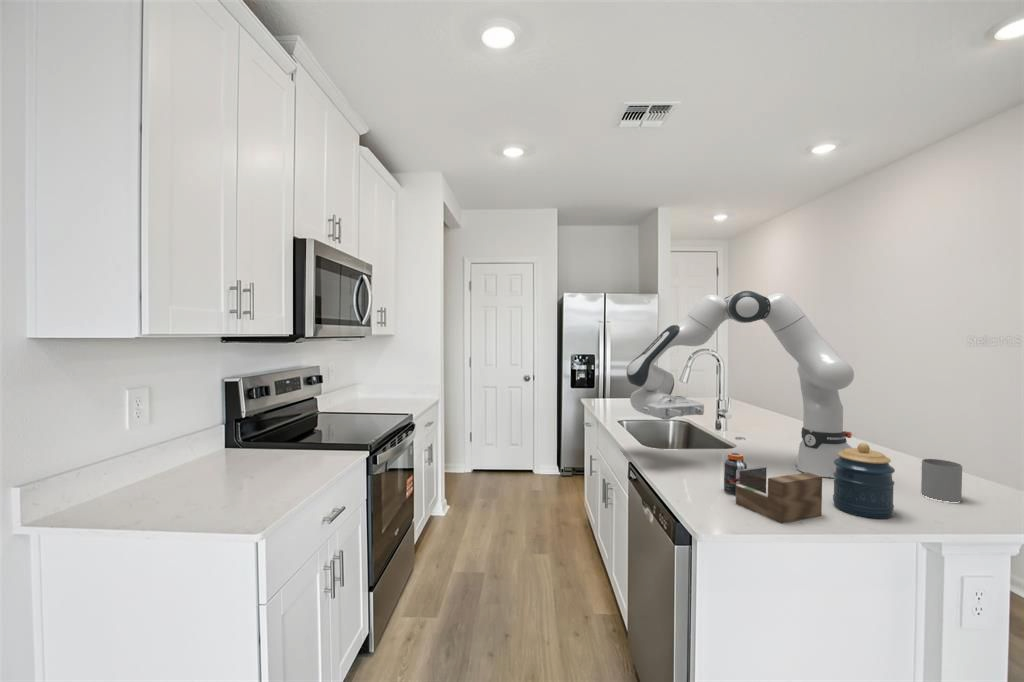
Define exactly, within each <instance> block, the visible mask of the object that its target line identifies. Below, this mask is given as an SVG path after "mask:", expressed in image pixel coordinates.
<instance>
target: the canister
mask: <svg viewBox="0 0 1024 682" xmlns="http://www.w3.org/2000/svg"><path fill="white" fill-rule="evenodd" d="M837 454H838V456H839V458H838V459H836V460H834V464H835V465H836V471H835V472H834V473H833V475H834V478H833V494H832V500H833V501H832V502H833V505H834V506H835V507H836V508H837V509H839V510H840V509H841V510H840V511H843V512H844V513H848V514H852V515H855V516H859V517H864V518H870V519H888V518H891V517H893V513H894V512H895V511H894V510H895V506H894V487H895V486H894V485H895V481H894V480H893V473H895V471H896V470H895V468H894V467H893V466H892V465H890V464H889V463H891V461H892V460H891V458H889V457H888V456H886V455H885V454H884V453H882V452H881V451H877V450H872V449H871V448H870V445H869V444H868V443H864V442H861V443H859V444H858V445H857V447H852V448H847V449H844V450H843V451H840V452H838V453H837Z"/></svg>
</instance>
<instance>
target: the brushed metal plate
mask: <svg viewBox="0 0 1024 682" xmlns="http://www.w3.org/2000/svg"><path fill="white" fill-rule="evenodd" d="M730 482H736V485H738V484H742V485H744V486H747V487H750V488H753V489H755V490H758V491H760V492H763V493H765V494H767V467H766V466H763V465H762V466H756V467H747V469H740V470H736V479H730Z"/></svg>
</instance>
